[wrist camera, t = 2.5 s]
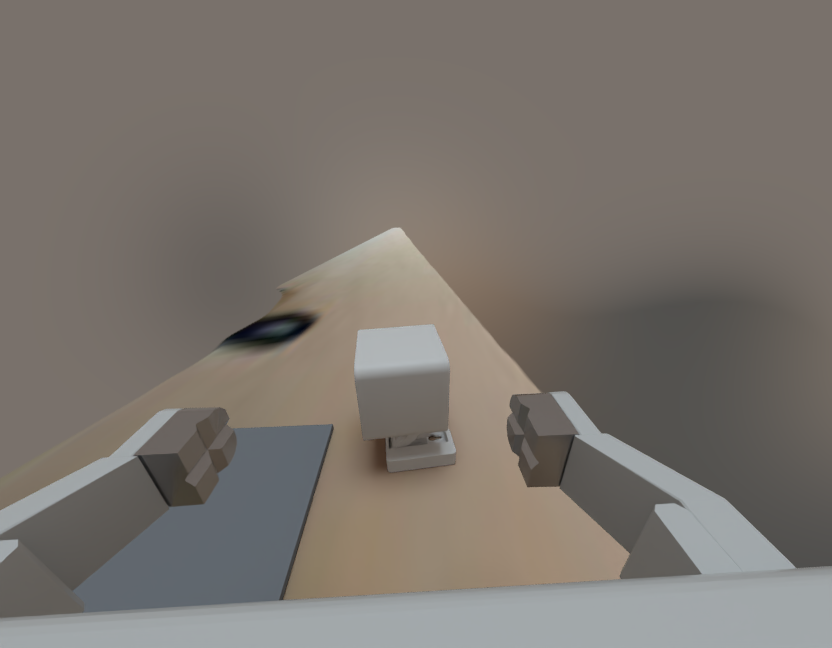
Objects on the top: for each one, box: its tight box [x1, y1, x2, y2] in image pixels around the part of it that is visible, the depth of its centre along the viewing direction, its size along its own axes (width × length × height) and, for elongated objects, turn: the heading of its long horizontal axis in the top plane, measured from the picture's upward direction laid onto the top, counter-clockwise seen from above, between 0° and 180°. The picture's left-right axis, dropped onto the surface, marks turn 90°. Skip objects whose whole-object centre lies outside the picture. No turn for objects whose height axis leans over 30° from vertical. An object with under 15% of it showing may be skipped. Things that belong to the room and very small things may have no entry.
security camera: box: [354, 324, 456, 472], centre depth 23 cm, size 6×7×10 cm
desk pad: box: [73, 424, 333, 613], centre depth 20 cm, size 16×16×1 cm
